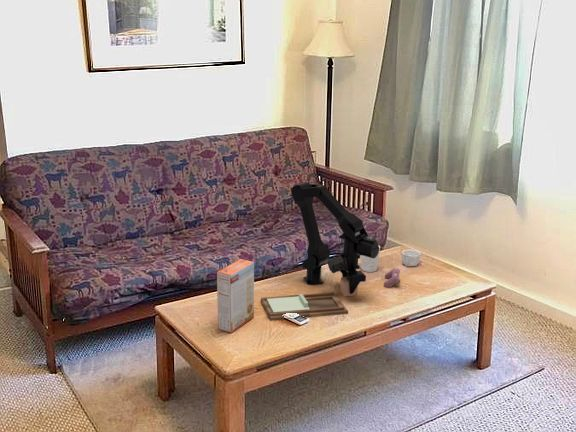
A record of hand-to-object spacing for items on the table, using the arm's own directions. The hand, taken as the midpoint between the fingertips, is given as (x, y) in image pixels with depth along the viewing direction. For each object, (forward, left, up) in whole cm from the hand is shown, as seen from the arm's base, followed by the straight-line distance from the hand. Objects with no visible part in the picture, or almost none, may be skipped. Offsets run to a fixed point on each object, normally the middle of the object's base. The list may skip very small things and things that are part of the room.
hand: (348, 290), depth 258 cm
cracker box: (+17, -46, -1) cm, 49 cm away
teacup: (-23, +36, -1) cm, 43 cm away
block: (0, 0, -1) cm, 1 cm away
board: (+9, -20, -1) cm, 22 cm away
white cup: (-21, +16, -1) cm, 26 cm away
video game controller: (-6, +20, -1) cm, 21 cm away
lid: (+9, -26, 0) cm, 27 cm away
